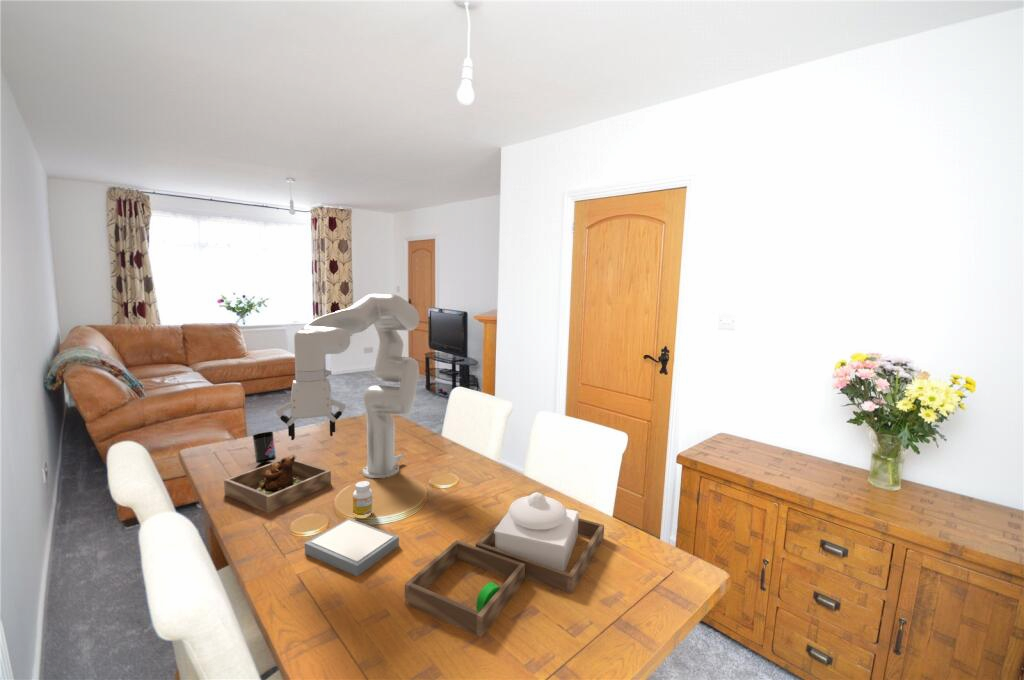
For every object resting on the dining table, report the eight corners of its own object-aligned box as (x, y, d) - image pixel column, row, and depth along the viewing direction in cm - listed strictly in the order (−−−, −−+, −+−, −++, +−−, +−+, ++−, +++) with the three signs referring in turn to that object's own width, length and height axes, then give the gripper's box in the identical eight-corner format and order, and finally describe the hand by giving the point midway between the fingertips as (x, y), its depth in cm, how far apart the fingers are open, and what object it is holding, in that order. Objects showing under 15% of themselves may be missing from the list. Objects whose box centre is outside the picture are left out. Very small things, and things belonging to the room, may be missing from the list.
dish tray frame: (520, 518, 132) (521, 502, 132) (603, 542, 121) (604, 525, 120) (475, 563, 110) (475, 544, 110) (571, 598, 99) (572, 577, 98)
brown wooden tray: (288, 470, 160) (287, 457, 159) (330, 484, 150) (330, 470, 149) (224, 495, 141) (224, 479, 140) (269, 513, 131) (268, 497, 130)
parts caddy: (456, 558, 112) (456, 540, 111) (524, 584, 103) (525, 564, 102) (404, 605, 95) (404, 583, 94) (481, 640, 86) (481, 617, 86)
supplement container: (263, 461, 160) (259, 432, 162) (251, 465, 163) (248, 436, 165) (280, 458, 166) (277, 430, 168) (269, 462, 169) (265, 434, 171)
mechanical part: (495, 641, 89) (498, 605, 88) (475, 624, 93) (477, 589, 92) (534, 611, 98) (537, 578, 97) (514, 596, 102) (517, 564, 101)
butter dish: (577, 541, 122) (580, 485, 120) (562, 581, 105) (565, 517, 103) (516, 528, 127) (517, 474, 125) (493, 564, 110) (494, 503, 108)
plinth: (349, 528, 124) (348, 517, 124) (398, 547, 116) (398, 536, 115) (304, 554, 112) (304, 542, 111) (357, 577, 103) (357, 565, 103)
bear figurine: (293, 477, 155) (292, 443, 154) (309, 492, 145) (308, 456, 143) (249, 488, 146) (247, 453, 144) (262, 506, 135) (261, 467, 134)
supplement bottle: (355, 511, 133) (355, 480, 132) (374, 510, 134) (374, 479, 133) (350, 520, 128) (350, 488, 127) (370, 520, 129) (369, 488, 127)
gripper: (344, 371, 128) (345, 429, 130) (276, 374, 121) (278, 435, 123) (345, 376, 121) (346, 437, 123) (273, 380, 114) (275, 444, 116)
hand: (312, 436), depth 123 cm, fingers open, 9 cm apart
